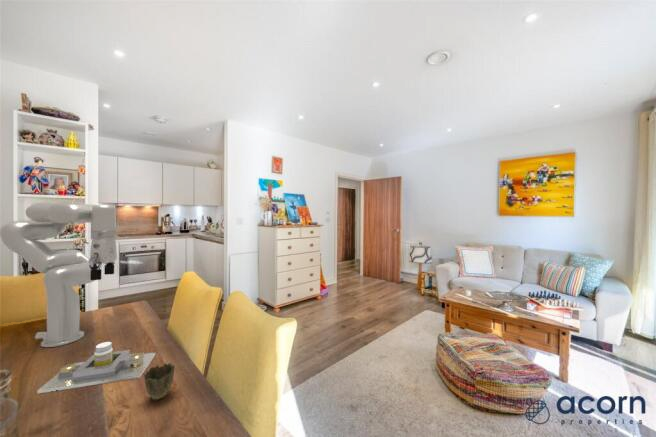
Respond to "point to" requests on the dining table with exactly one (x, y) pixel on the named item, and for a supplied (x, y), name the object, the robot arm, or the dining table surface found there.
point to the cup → (159, 380)
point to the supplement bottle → (103, 354)
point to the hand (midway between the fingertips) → (102, 276)
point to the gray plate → (99, 371)
